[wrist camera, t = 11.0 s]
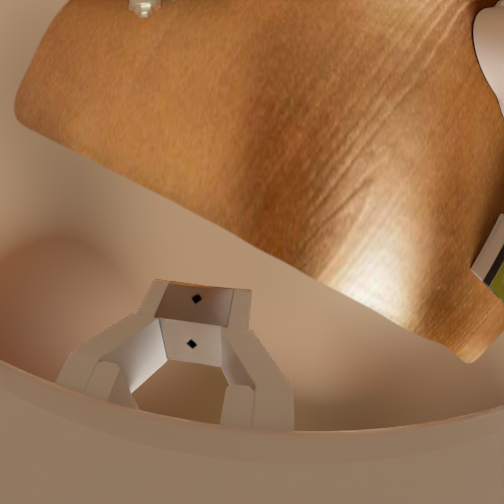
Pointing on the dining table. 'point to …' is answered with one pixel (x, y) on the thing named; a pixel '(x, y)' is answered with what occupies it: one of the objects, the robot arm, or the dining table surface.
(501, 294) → the tea box
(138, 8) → the pipe fitting
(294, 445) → the robot arm
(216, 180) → the dining table surface
